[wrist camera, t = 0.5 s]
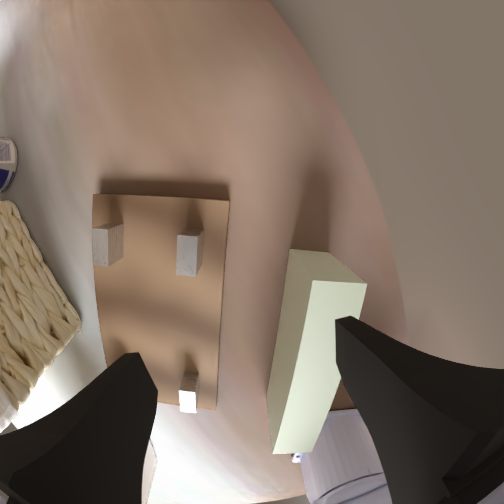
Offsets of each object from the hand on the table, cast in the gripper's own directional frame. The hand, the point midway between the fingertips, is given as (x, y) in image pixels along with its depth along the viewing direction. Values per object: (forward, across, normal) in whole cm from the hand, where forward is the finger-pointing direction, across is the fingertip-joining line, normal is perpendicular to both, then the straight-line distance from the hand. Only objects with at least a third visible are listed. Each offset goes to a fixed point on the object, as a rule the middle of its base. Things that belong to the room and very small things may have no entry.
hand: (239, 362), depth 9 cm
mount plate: (+11, +7, +3) cm, 13 cm away
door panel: (+11, -3, +7) cm, 13 cm away
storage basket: (+12, +27, 0) cm, 29 cm away
